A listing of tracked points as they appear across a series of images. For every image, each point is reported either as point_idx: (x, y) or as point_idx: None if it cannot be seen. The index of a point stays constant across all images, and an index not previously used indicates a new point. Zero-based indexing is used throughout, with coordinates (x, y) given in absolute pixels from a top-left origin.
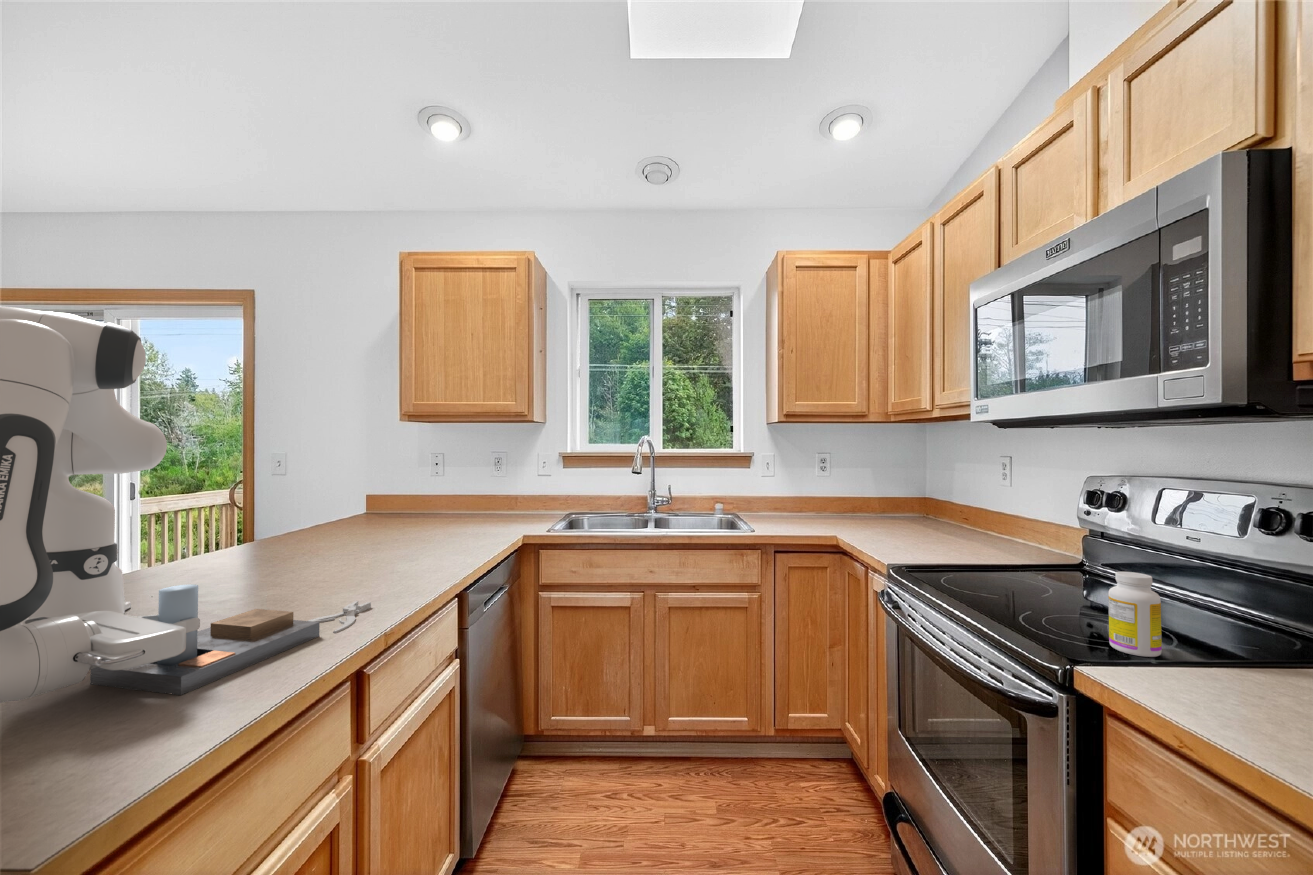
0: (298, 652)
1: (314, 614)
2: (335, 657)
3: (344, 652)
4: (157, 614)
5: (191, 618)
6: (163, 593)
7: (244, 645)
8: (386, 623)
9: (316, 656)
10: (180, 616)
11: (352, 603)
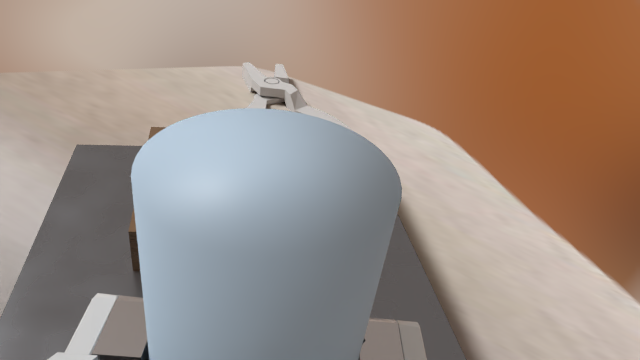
0: (440, 262)
1: (186, 105)
2: (571, 265)
3: (547, 239)
4: (68, 347)
5: (398, 340)
6: (299, 269)
7: (383, 307)
8: (417, 123)
9: (519, 270)
10: (357, 357)
11: (251, 70)
